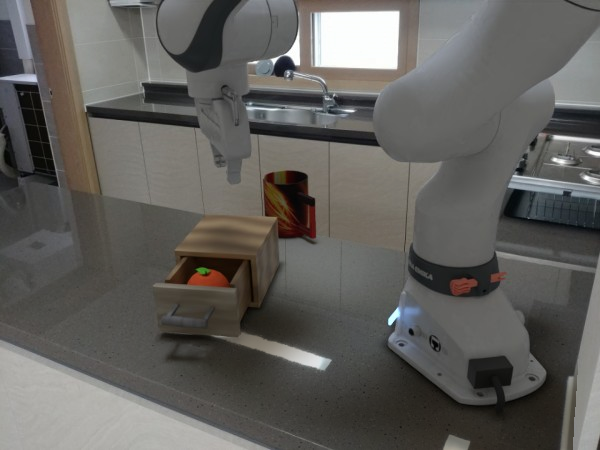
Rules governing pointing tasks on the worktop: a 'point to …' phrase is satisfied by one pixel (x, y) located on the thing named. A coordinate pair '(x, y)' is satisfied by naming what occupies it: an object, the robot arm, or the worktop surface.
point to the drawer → (204, 298)
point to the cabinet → (237, 245)
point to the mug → (290, 203)
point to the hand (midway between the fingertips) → (226, 174)
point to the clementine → (208, 278)
